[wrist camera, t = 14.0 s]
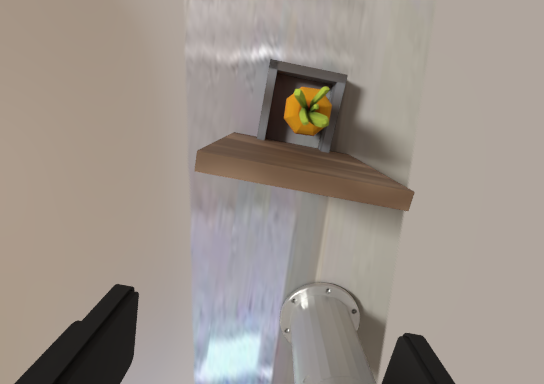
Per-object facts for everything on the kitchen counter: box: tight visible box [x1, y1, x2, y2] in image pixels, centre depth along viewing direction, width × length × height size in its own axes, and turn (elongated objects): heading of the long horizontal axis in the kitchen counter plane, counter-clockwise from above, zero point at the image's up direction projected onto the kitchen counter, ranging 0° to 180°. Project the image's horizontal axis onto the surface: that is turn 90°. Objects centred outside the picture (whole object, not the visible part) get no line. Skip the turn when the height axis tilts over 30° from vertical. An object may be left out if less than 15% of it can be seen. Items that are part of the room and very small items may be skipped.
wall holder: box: [195, 59, 414, 211], centre depth 30 cm, size 11×16×20 cm
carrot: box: [284, 86, 332, 136], centre depth 32 cm, size 5×5×15 cm
